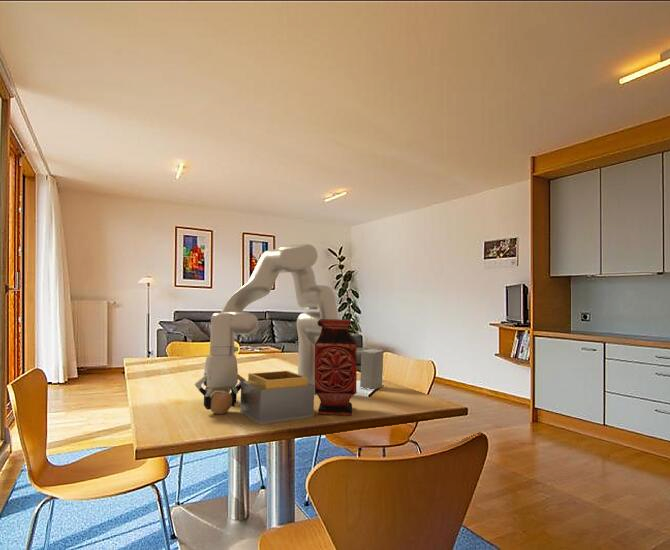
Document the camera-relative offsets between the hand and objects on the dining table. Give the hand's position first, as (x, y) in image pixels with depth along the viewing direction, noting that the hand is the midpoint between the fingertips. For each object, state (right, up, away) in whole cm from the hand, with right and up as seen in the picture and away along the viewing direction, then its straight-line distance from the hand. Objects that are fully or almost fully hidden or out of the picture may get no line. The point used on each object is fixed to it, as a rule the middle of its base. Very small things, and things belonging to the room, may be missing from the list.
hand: (220, 406), depth 143 cm
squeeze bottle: (-5, -3, +17) cm, 18 cm away
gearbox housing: (+18, -2, 0) cm, 18 cm away
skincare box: (+52, -5, +45) cm, 69 cm away
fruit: (0, -2, 0) cm, 2 cm away
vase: (+37, -3, +5) cm, 37 cm away
